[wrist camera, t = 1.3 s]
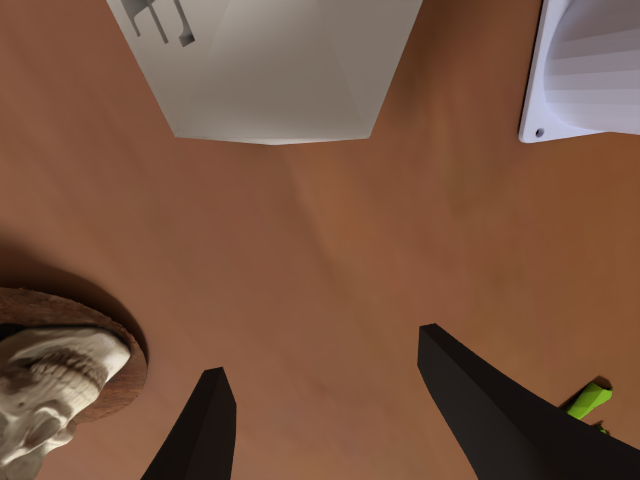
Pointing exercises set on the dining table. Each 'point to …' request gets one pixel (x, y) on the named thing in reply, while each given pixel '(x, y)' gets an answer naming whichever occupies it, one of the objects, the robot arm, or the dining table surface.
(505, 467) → the robot arm
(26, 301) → the skull
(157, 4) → the die
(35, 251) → the dining table surface
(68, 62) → the dining table surface
